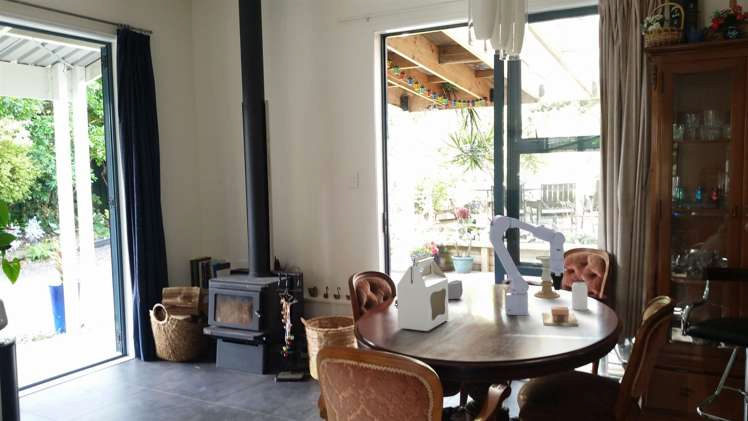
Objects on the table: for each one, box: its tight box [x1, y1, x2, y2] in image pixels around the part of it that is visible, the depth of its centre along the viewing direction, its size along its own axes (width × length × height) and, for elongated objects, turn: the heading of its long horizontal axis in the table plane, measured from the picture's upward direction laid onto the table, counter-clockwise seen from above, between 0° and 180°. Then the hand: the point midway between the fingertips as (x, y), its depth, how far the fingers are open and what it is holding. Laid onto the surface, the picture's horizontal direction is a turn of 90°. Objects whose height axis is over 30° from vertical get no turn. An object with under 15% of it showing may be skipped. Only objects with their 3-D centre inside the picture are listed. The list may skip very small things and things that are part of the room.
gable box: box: [396, 253, 450, 332], centre depth 230 cm, size 22×13×28 cm, turn 151°
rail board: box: [541, 312, 579, 327], centre depth 229 cm, size 13×18×4 cm
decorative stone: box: [448, 279, 464, 300], centre depth 278 cm, size 15×7×10 cm
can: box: [571, 281, 589, 311], centre depth 249 cm, size 6×6×12 cm
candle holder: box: [533, 255, 561, 299], centre depth 277 cm, size 12×12×20 cm
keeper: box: [550, 306, 570, 322], centre depth 225 cm, size 6×5×5 cm
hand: (557, 289), depth 244 cm, fingers closed
